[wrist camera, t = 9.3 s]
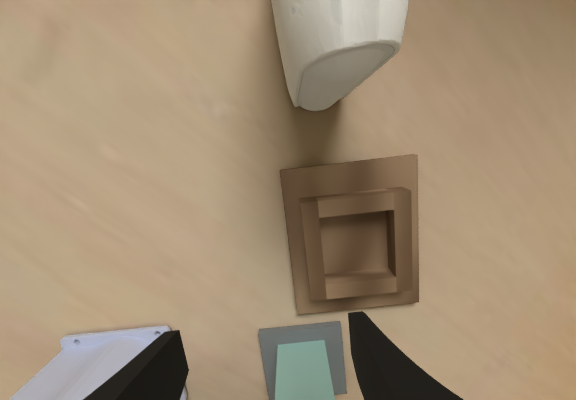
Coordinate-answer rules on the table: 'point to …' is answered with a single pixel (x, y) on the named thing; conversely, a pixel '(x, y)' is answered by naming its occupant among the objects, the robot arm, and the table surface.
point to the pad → (304, 334)
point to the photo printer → (335, 45)
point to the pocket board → (353, 233)
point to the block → (303, 372)
